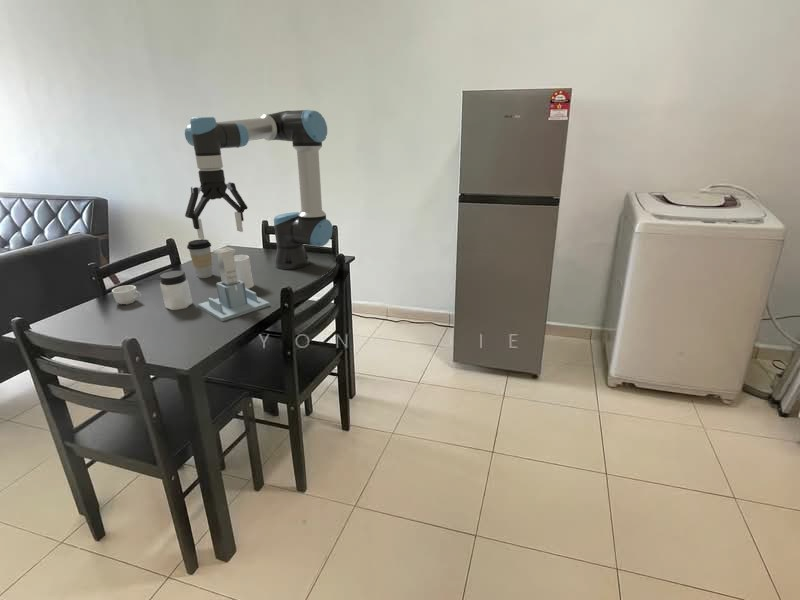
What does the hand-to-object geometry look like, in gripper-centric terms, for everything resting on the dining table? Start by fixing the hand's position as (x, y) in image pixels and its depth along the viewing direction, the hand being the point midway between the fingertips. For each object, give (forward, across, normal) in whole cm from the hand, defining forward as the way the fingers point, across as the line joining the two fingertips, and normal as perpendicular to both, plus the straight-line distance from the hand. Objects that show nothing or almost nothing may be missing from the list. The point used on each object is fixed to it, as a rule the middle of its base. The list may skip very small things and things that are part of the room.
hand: (221, 234), depth 152 cm
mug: (+26, -12, -16) cm, 33 cm away
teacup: (+27, +24, -33) cm, 49 cm away
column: (+25, 0, 0) cm, 25 cm away
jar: (+27, +12, -16) cm, 34 cm away
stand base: (+26, 0, 0) cm, 26 cm away
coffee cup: (+26, -8, -41) cm, 50 cm away
